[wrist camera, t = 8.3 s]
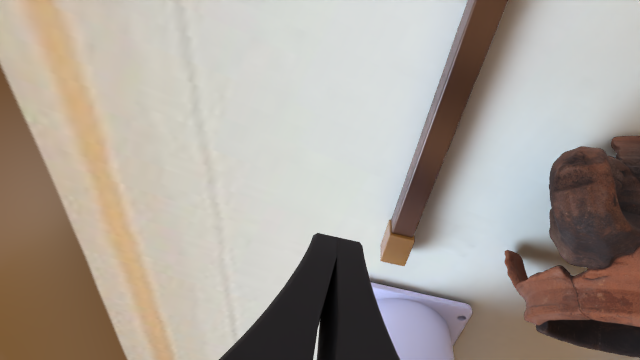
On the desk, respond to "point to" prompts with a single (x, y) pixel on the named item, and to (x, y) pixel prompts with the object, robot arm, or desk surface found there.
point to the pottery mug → (590, 252)
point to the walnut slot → (441, 123)
